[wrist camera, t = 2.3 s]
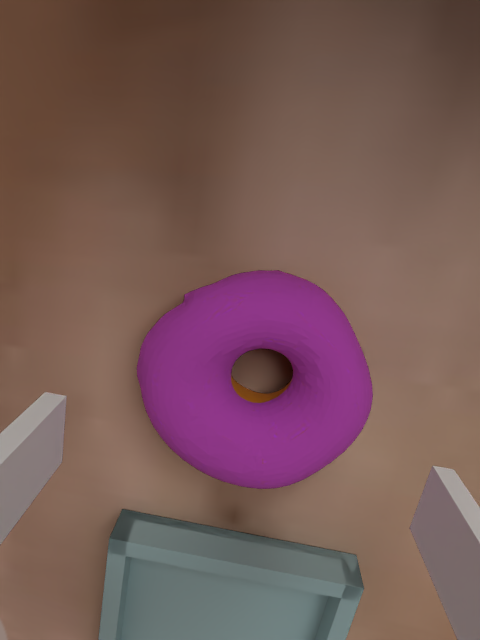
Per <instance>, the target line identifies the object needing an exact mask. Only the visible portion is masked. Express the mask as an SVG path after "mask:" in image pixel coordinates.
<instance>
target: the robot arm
mask: <svg viewBox="0 0 480 640" xmlns="http://www.w3.org/2000/svg"><path fill="white" fill-rule="evenodd" d="M66 397H67V396H64V395H59V394H53V393H48V392H45V393H44V394H42V395H41V396H40V397H39V398H38V399H37V400H36V401H35V402H34V403H33V404H32V405H31V406H29V407H28V408H27V409H26V410H25V411H24V412H23V413H22V414H21V415H20V416H19V417H17V418H16V419H15V420H14V421H13V422H12V423H11V424H10V425H9V426H8V427H7V428H6V429H4V430H3V431H2V432H1V433H0V545H1V543H2V542H3V541H4V539H5V538H6V537H7V535H8V534H9V533H10V531H11V530H12V529H13V527H14V526H15V525H16V523H17V522H18V521H19V519H20V518H21V516H22V515H23V514H24V512H25V511H26V510H27V508H28V507H29V506H30V504H31V503H32V502H33V500H34V499H35V498H36V496H37V495H38V494H39V492H40V491H41V490H42V488H43V487H44V486H45V484H46V483H47V482H48V480H49V479H50V478H51V476H52V475H53V473H54V472H55V471H56V469H57V468H58V467H59V465H60V464H61V463H62V456H63V441H64V427H65V412H66ZM410 530H411V532H412V535H413V537H414V539H415V542H416V544H417V546H418V549H419V551H420V553H421V556H422V558H423V560H424V563H425V565H426V567H427V570H428V572H429V574H430V577H431V579H432V581H433V584H434V586H435V588H436V591H437V593H438V595H439V598H440V600H441V602H442V605H443V607H444V609H445V612H446V614H447V616H448V619H449V621H450V624H451V626H452V628H453V631H454V633H455V635H456V638H457V640H480V507H479V506H478V504H477V503H476V501H475V500H474V498H473V497H472V496H471V494H470V493H469V491H468V490H467V488H466V487H465V485H464V484H463V482H462V481H461V479H460V478H459V476H458V475H457V473H456V472H455V470H454V469H449V468H444V467H438V466H432V468H431V471H430V474H429V476H428V479H427V482H426V485H425V487H424V490H423V493H422V495H421V498H420V501H419V504H418V506H417V509H416V512H415V514H414V517H413V520H412V523H411V525H410Z"/></svg>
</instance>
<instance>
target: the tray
mask: <svg viewBox="0 0 480 640" xmlns="http://www.w3.org/2000/svg"><path fill="white" fill-rule="evenodd" d="M363 590H364V586H363V582H362V578H361V573H360V569H359V565H358V560H357V556H356V555H354V554H349V553H344V552H339V551H334V550H329V549H324V548H319V547H313V546H308V545H303V544H298V543H293V542H288V541H283V540H278V539H273V538H268V537H262V536H257V535H252V534H247V533H242V532H237V531H232V530H227V529H222V528H216V527H211V526H206V525H201V524H196V523H191V522H186V521H181V520H176V519H170V518H165V517H160V516H155V515H150V514H145V513H140V512H135V511H130V510H124V509H122V511H121V513H120V516H119V518H118V520H117V522H116V525H115V527H114V529H113V531H112V533H111V536H110V538H109V545H108V555H107V564H106V574H105V583H104V592H103V602H102V611H101V621H100V630H99V640H346V637H347V634H348V631H349V629H350V626H351V623H352V620H353V618H354V615H355V612H356V609H357V607H358V604H359V601H360V598H361V595H362V593H363Z"/></svg>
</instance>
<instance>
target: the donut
mask: <svg viewBox="0 0 480 640" xmlns="http://www.w3.org/2000/svg"><path fill="white" fill-rule="evenodd" d="M259 348H263V349H272V350H275V351H277V352H280V353H282V354H283V355H284V356H286V357H287V358H288V359H289V361H290V362H291V364H292V368H293V377H292V379H291V381H290V382H289V383H288V384H287V385H286V386H285V387H284V388H283V389H281V390H279V391H277V392H273V393H269V394H263V393H258V392H254V391H252V390H249V389H247V388H245V387H243V386H242V385H240V384H238V383H237V382H236V381H235V380H234V379H233V377H232V376H231V371H232V367H233V365H234V362H235V361H236V360H237V358H238V357H240V356H241V355H242V354H244V353H246V352H247V351H250V350H254V349H259ZM137 377H138V381H139V384H140V388H141V392H142V398H143V402H144V406H145V409H146V412H147V414H148V416H149V418H150V420H151V422H152V424H153V426H154V428H155V429H156V431H157V432H158V434H159V435H160V437H161V438H162V439H163V440H164V441H165V443H166V444H167V445H168V446H169V447H170V448H171V449H172V450H173V451H174V452H175V453H176V454H177V455H179V456H180V457H181V458H182V459H183V460H184V461H186V462H187V463H189V464H190V465H192V466H193V467H195V468H196V469H198V470H200V471H202V472H203V473H205V474H207V475H209V476H211V477H214V478H216V479H219V480H221V481H223V482H227V483H231V484H234V485H238V486H242V487H249V488H257V489H270V488H279V487H283V486H288V485H291V484H294V483H296V482H299V481H301V480H303V479H305V478H307V477H309V476H310V475H312V474H314V473H316V472H317V471H319V470H320V469H322V468H323V467H325V466H326V465H328V464H329V463H331V462H332V461H333V460H334V459H336V458H337V457H338V456H339V455H340V454H342V453H343V452H344V451H345V450H346V449H347V448H348V447H349V446H350V445H351V444H352V443H353V441H354V440H355V439H356V438H357V436H358V435H359V434H360V432H361V431H362V429H363V427H364V425H365V423H366V421H367V419H368V416H369V413H370V410H371V404H372V397H373V393H372V382H371V378H370V373H369V369H368V366H367V363H366V360H365V357H364V354H363V351H362V349H361V347H360V345H359V342H358V340H357V338H356V335H355V333H354V331H353V329H352V327H351V325H350V323H349V321H348V319H347V318H346V316H345V314H344V313H343V311H342V310H341V309H340V308H339V306H338V305H337V304H336V303H335V301H334V300H333V299H332V298H331V297H330V296H329V295H328V294H327V293H326V292H325V291H324V290H323V289H321V288H320V287H318V286H317V285H315V284H313V283H311V282H309V281H307V280H305V279H303V278H300V277H297V276H294V275H291V274H288V273H284V272H282V271H279V270H274V271H264V270H258V271H251V272H244V273H239V274H235V275H231V276H229V277H227V278H225V279H222V280H220V281H218V282H216V283H213V284H211V285H207V286H204V287H201V288H198V289H196V290H193V291H191V292H189V293H187V294H185V295H184V301H183V303H182V304H180V305H178V306H177V307H175V308H174V309H172V310H170V311H169V312H167V313H166V314H164V315H163V316H162V317H161V318H160V319H159V320H158V322H157V323H156V324H155V325H154V326H153V328H152V329H151V330H150V331H149V332H148V334H147V335H146V337H145V339H144V341H143V344H142V346H141V349H140V355H139V360H138V364H137Z"/></svg>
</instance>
